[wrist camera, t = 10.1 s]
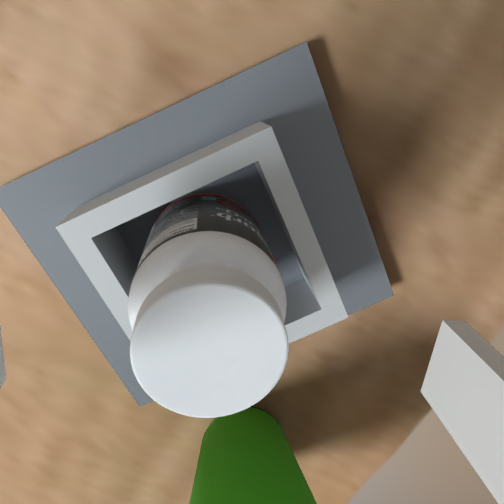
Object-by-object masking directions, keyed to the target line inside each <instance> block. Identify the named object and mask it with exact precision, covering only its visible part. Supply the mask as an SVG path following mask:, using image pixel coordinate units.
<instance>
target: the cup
mask: <svg viewBox="0 0 504 504" xmlns="http://www.w3.org/2000/svg"><path fill="white" fill-rule="evenodd" d="M190 504H317V503H316V501H315V499H314V497H313V495H312V492H311V490H310V488H309V486H308V484H307V482H306V480H305V477H304V475H303V473H302V471H301V469H300V467H299V465H298V462H297V460H296V458H295V456H294V454H293V452H292V450H291V447H290V445H289V443H288V441H287V439H286V437H285V435H284V432H283V430H282V428H281V427H280V425H279V423H278V422H277V421H276V420H275V419H274V418H273V417H272V416H271V415H270V414H268V413H266V412H265V411H263V410H260V409H257V408H252V407H249V408H247V409H245V410H242V411H240V412H237V413H234V414H231V415H227V416H222V417H217V418H216V419H214V420H213V421H212V423H211V424H210V426H209V427H208V429H207V430H206V432H205V434H204V437H203V440H202V444H201V449H200V454H199V459H198V464H197V469H196V474H195V479H194V484H193V489H192V494H191V499H190Z"/></svg>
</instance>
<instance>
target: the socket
mask: <svg viewBox="0 0 504 504" xmlns="http://www.w3.org/2000/svg"><path fill="white" fill-rule="evenodd" d="M198 193H214V194H219V195H223V196H226V197H229V198H231V199H233V200H235V201H237V202H238V203H240V204H241V205H242V206H244V207H245V208H246V209H247V210H248V211H249V212H250V213H251V215H252V216H253V217H254V219H255V220H256V222H257V224H258V225H259V228H260V230H261V232H262V234H263V237H264V239H265V241H266V244H267V246H268V248H269V250H270V252H271V255H272V257H273V259H274V261H275V263H276V266H277V268H278V270H279V272H280V275H281V277H282V280H283V284H284V288H285V292H286V301H287V307H286V317H285V322H284V324H285V327H286V331H287V335H288V344H289V343H291V342H294V341H296V340H298V339H301V338H303V337H305V336H307V335H310V334H312V333H314V332H316V331H319V330H321V329H323V328H326V327H328V326H330V325H332V324H335V323H337V322H339V321H342V320H344V319H346V318H348V315H350V314H352V313H354V312H357V311H359V310H361V309H363V308H366V307H368V306H370V305H372V304H375V303H377V302H379V301H382V300H384V299H386V298H388V297H391V296H393V295H394V294H393V291H392V288H391V285H390V282H389V279H388V276H387V273H386V270H385V268H384V265H383V262H382V259H381V256H380V253H379V250H378V247H377V244H376V241H375V239H374V236H373V233H372V230H371V227H370V224H369V221H368V218H367V215H366V212H365V210H364V207H363V204H362V201H361V198H360V195H359V192H358V189H357V186H356V183H355V181H354V178H353V175H352V172H351V169H350V166H349V163H348V160H347V157H346V154H345V152H344V149H343V146H342V143H341V140H340V137H339V134H338V131H337V128H336V125H335V123H334V120H333V117H332V114H331V111H330V108H329V105H328V102H327V99H326V97H325V94H324V91H323V88H322V85H321V82H320V79H319V76H318V73H317V70H316V68H315V65H314V62H313V59H312V56H311V53H310V50H309V47H308V44H307V42H305V43H303V44H301V45H299V46H296V47H294V48H292V49H290V50H288V51H286V52H284V53H282V54H280V55H278V56H275V57H273V58H271V59H269V60H267V61H265V62H263V63H261V64H259V65H256V66H254V67H252V68H250V69H248V70H246V71H244V72H242V73H240V74H238V75H235V76H233V77H231V78H229V79H227V80H225V81H223V82H221V83H219V84H216V85H214V86H212V87H210V88H208V89H206V90H204V91H202V92H200V93H198V94H195V95H193V96H191V97H189V98H187V99H185V100H183V101H181V102H179V103H176V104H174V105H172V106H170V107H168V108H166V109H164V110H162V111H160V112H157V113H155V114H153V115H151V116H149V117H147V118H145V119H143V120H141V121H139V122H136V123H134V124H132V125H130V126H128V127H126V128H124V129H122V130H120V131H117V132H115V133H113V134H111V135H109V136H107V137H105V138H103V139H101V140H99V141H96V142H94V143H92V144H90V145H88V146H86V147H84V148H82V149H80V150H77V151H75V152H73V153H71V154H69V155H67V156H65V157H63V158H61V159H58V160H56V161H54V162H52V163H50V164H48V165H46V166H44V167H42V168H40V169H37V170H35V171H33V172H31V173H29V174H27V175H25V176H23V177H21V178H18V179H16V180H14V181H12V182H10V183H8V184H6V185H4V186H2V187H0V207H1V209H2V210H3V212H4V213H5V214H6V216H7V217H8V219H9V220H10V222H11V223H12V224H13V226H14V227H15V229H16V230H17V232H18V233H19V234H20V236H21V237H22V239H23V240H24V242H25V243H26V245H27V246H28V247H29V249H30V250H31V252H32V253H33V255H34V256H35V257H36V259H37V260H38V262H39V263H40V265H41V266H42V267H43V269H44V270H45V272H46V273H47V275H48V276H49V277H50V279H51V280H52V282H53V283H54V285H55V286H56V287H57V289H58V290H59V292H60V293H61V295H62V296H63V297H64V299H65V300H66V302H67V303H68V305H69V306H70V307H71V309H72V310H73V312H74V313H75V315H76V316H77V318H78V319H79V320H80V322H81V323H82V325H83V326H84V328H85V329H86V330H87V332H88V333H89V335H90V336H91V338H92V339H93V340H94V342H95V343H96V345H97V346H98V348H99V349H100V350H101V352H102V353H103V355H104V356H105V358H106V359H107V360H108V362H109V363H110V365H111V366H112V368H113V369H114V370H115V372H116V373H117V375H118V376H119V378H120V379H121V380H122V382H123V383H124V385H125V386H126V388H127V389H128V391H129V392H130V393H131V395H132V396H133V398H134V399H135V401H136V402H137V403H138V405H139V406H143V405H145V404H147V403H150V402H152V401H154V400H153V399H152V398H151V397H150V396H149V395H148V394H147V393H146V392H145V391H144V390H143V388H142V387H141V386H140V384H139V383H138V381H137V379H136V377H135V375H134V372H133V369H132V365H131V359H130V342H131V337H132V332H133V331H132V329H131V325H130V322H129V316H128V298H129V292H130V287H131V283H132V280H133V277H134V275H135V272H136V270H137V267H138V264H139V261H140V259H141V256H142V253H143V251H144V248H145V245H146V242H147V240H148V237H149V235H150V231H151V229H152V227H153V224H154V223H155V221H156V219H157V218H158V217H159V215H160V214H161V213H162V212H163V211H164V210H165V209H166V208H167V207H168V206H169V205H171V204H172V203H173V202H175V201H177V200H179V199H181V198H183V197H185V196H188V195H192V194H198Z"/></svg>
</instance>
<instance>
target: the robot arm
mask: <svg viewBox="0 0 504 504" xmlns="http://www.w3.org/2000/svg"><path fill="white" fill-rule="evenodd" d="M5 380H6V372H5V363H4V354H3V345H2V336H1V327H0V388H1V386H2V385H3V383H4V382H5ZM421 393H422V394H423V396H424V397H425V399H426V400H427V402H428V403H429V404H430V406H431V407H432V409H433V410H434V412H435V413H436V414H437V416H438V417H439V419H440V420H441V422H442V423H443V424H444V426H445V427H446V429H447V430H448V432H449V433H450V435H451V436H452V437H453V439H454V440H455V442H456V443H457V444H458V446H459V448H460V449H461V450H462V452H463V453H464V455H465V456H466V458H467V459H468V460H469V462H470V463H471V465H472V466H473V468H474V469H475V471H476V472H477V473H478V474H479V476H480V478H481V479H482V481H483V482H484V483H485V485H486V486H487V488H488V489H489V491H490V492H491V494H492V495H493V496H494V498H495V499H496V501H497V502H498V503H499V504H504V356H503V355H502V354H500V353H499V352H498V351H497V350H496V349H495V348H494V347H493V346H492V345H491V344H490V343H488V342H487V341H486V340H485V339H484V338H483V337H482V336H481V335H480V334H479V333H477V332H476V331H475V330H474V329H473V328H472V327H471V326H470V325H469V324H468V323H466V322H465V321H452V320H442V323H441V327H440V330H439V333H438V336H437V340H436V343H435V346H434V349H433V353H432V356H431V359H430V362H429V366H428V369H427V372H426V375H425V379H424V382H423V385H422V388H421Z"/></svg>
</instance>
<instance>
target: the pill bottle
mask: <svg viewBox="0 0 504 504" xmlns="http://www.w3.org/2000/svg"><path fill="white" fill-rule="evenodd" d="M286 307H287V301H286V292H285V288H284V284H283V280H282V277H281V275H280V272H279V270H278V268H277V266H276V263H275V261H274V259H273V257H272V255H271V252H270V250H269V248H268V246H267V244H266V241H265V239H264V237H263V234H262V232H261V230H260V228H259V225H258V224H257V222H256V220H255V219H254V217H253V216H252V215H251V213H250V212H249V211H248V210H247V209H246V208H245V207H244V206H242V205H241V204H240V203H238V202H237V201H235V200H233V199H231V198H229V197H226V196H223V195H219V194H214V193H198V194H192V195H188V196H185V197H183V198H181V199H179V200H177V201H175V202H173V203H172V204H171V205H169V206H168V207H167V208H166V209H165V210H164V211H163V212H162V213H161V214H160V215H159V217H158V218H157V219H156V221H155V223H154V224H153V227H152V229H151V231H150V235H149V237H148V240H147V242H146V245H145V248H144V251H143V253H142V256H141V259H140V261H139V264H138V267H137V270H136V272H135V275H134V277H133V280H132V283H131V287H130V292H129V298H128V316H129V322H130V325H131V329H132V331H133V332H132V337H131V342H130V359H131V365H132V369H133V372H134V375H135V377H136V379H137V381H138V383H139V384H140V386H141V387H142V388H143V390H144V391H145V392H146V393H147V394H148V395H149V396H150V397H151V398H152V399H153V400H154V401H156V402H157V403H158V404H160V405H162V406H163V407H165V408H167V409H169V410H171V411H174V412H176V413H179V414H182V415H187V416H191V417H200V418H213V417H222V416H227V415H231V414H234V413H237V412H240V411H242V410H245V409H247V408H249V407H251V406H252V405H254V404H256V403H257V402H259V401H260V400H261V399H263V398H264V397H265V396H266V395H267V394H268V393H269V392H270V391H271V390H272V389H273V387H274V386H275V385H276V383H277V382H278V380H279V379H280V377H281V375H282V374H283V372H284V369H285V365H286V363H287V358H288V349H289V344H288V335H287V331H286V327H285V324H284V322H285V317H286Z"/></svg>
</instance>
